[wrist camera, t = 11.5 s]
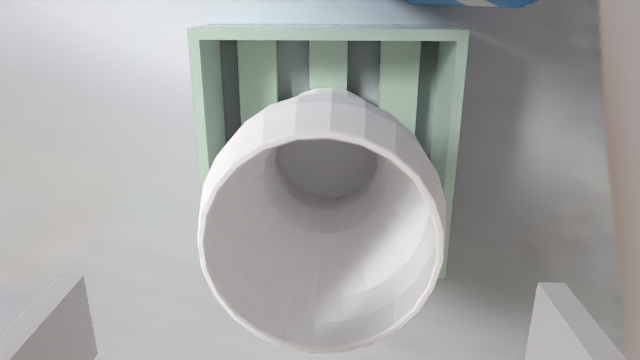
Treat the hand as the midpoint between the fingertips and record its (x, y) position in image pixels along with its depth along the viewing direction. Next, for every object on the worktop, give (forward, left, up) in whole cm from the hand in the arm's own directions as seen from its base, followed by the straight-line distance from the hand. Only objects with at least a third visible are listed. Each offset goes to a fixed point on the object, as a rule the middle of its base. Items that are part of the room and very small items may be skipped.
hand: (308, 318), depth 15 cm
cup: (0, 0, -20) cm, 20 cm away
